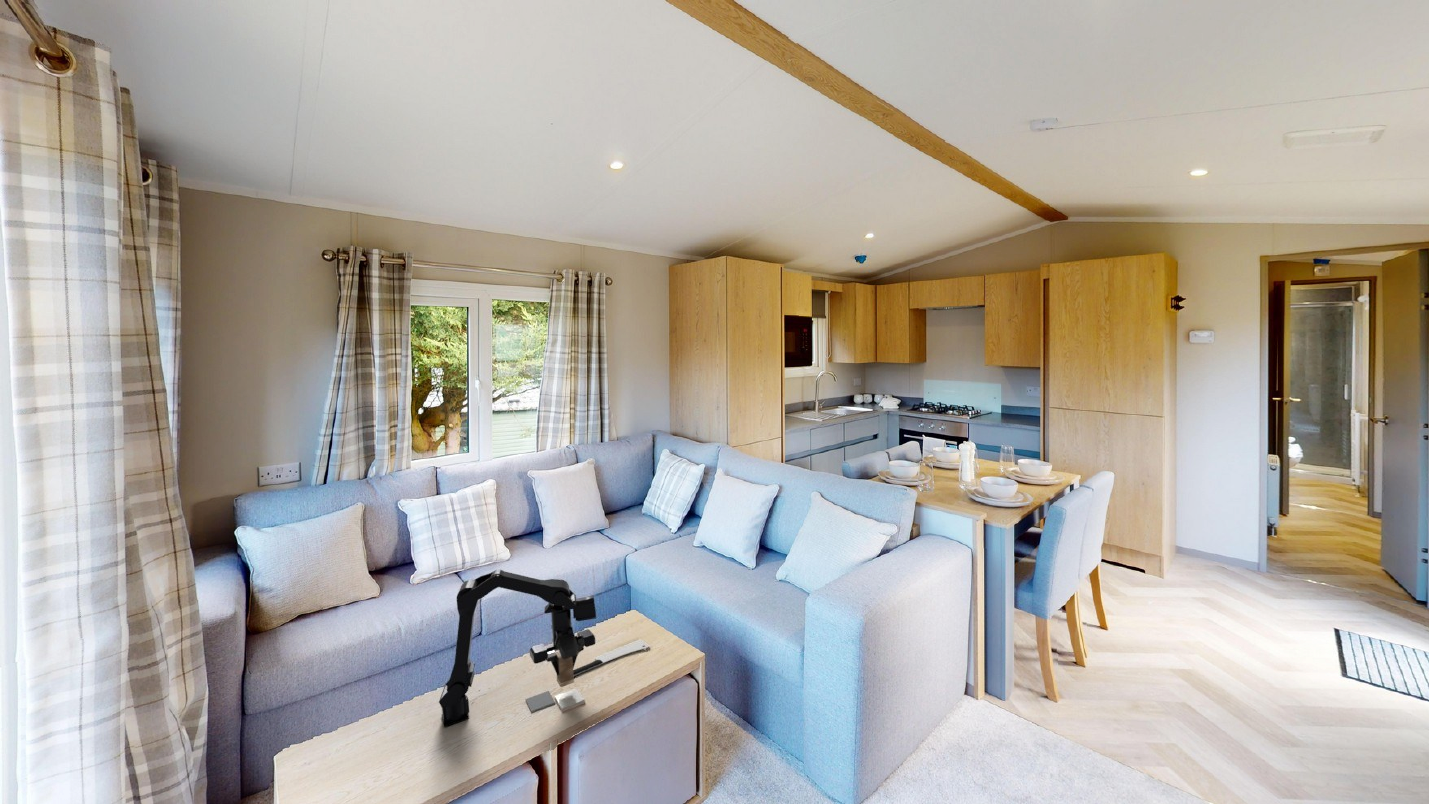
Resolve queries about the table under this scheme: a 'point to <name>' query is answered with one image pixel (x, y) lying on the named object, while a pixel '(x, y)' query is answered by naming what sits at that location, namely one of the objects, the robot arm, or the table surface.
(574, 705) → the tile
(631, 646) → the kitchen cleaver
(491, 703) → the table surface
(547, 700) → the pad
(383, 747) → the table surface
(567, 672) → the wooden post stub
